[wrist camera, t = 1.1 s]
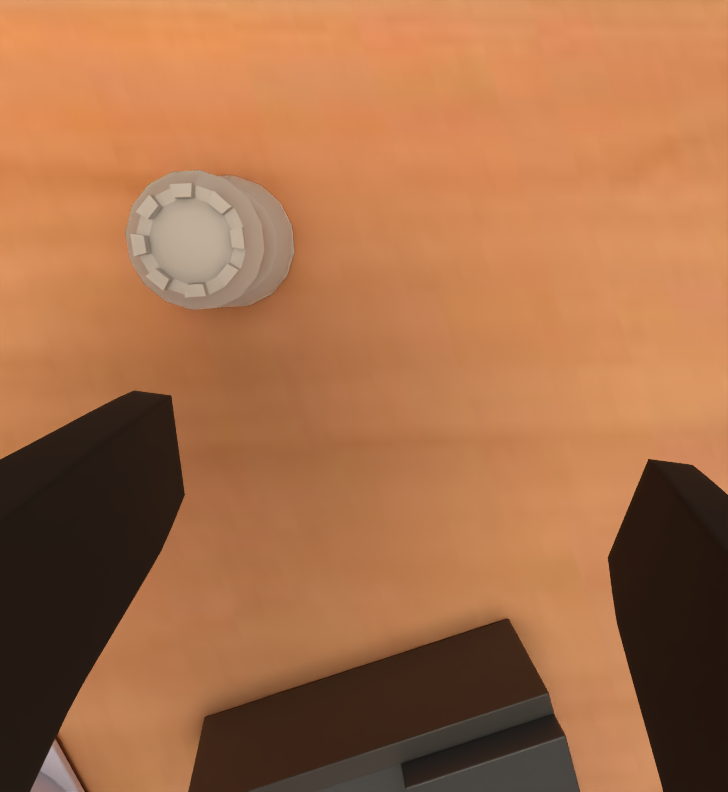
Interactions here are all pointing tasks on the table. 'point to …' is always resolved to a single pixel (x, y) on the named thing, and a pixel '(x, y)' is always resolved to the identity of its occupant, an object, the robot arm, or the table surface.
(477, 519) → the table surface
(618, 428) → the table surface
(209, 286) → the rook chess piece
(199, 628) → the table surface
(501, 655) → the dark grey stepped block
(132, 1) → the table surface
